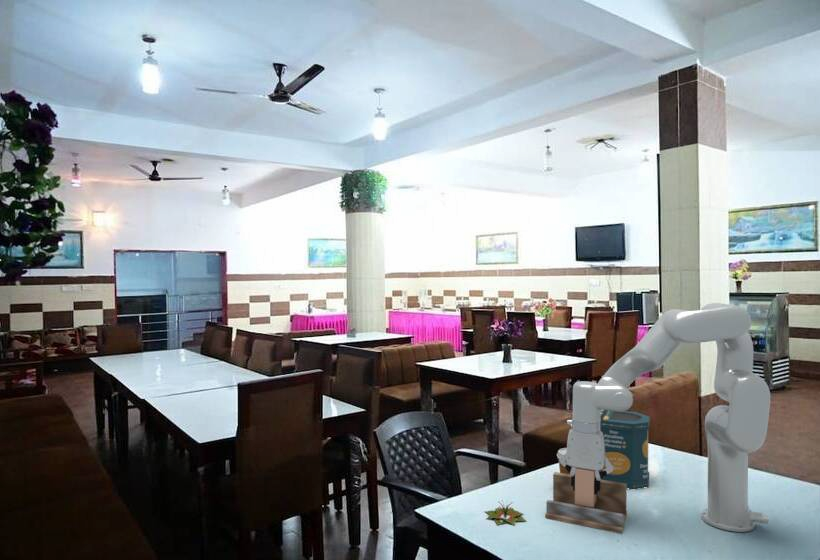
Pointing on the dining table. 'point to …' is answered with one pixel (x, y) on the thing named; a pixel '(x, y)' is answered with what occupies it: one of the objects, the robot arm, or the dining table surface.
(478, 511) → the dining table surface
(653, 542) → the dining table surface
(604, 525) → the cleat board
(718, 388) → the robot arm
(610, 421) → the donation box
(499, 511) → the lily flower
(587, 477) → the terracotta block
